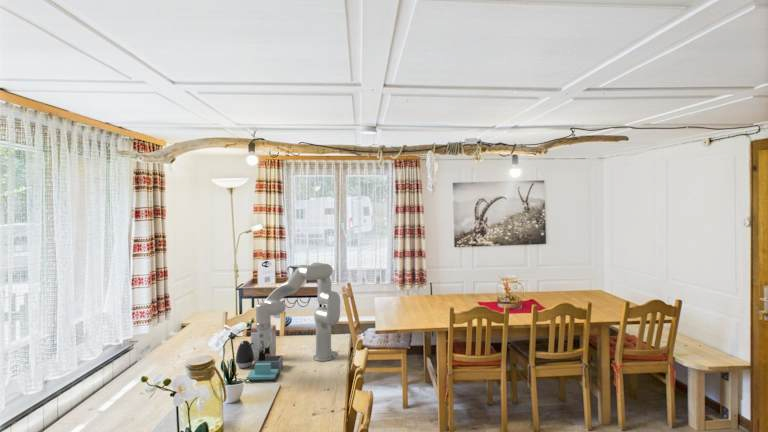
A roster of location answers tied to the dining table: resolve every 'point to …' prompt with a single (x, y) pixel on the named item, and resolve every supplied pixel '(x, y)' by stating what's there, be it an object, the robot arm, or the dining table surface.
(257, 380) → the mat
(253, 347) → the cracker box
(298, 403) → the dining table surface
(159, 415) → the dining table surface
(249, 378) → the lid
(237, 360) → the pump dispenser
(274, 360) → the tub
